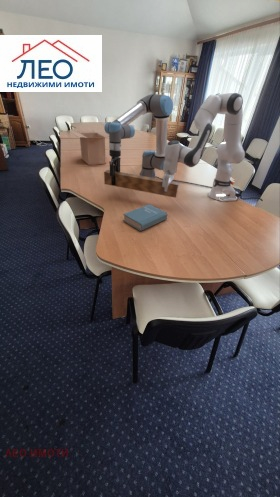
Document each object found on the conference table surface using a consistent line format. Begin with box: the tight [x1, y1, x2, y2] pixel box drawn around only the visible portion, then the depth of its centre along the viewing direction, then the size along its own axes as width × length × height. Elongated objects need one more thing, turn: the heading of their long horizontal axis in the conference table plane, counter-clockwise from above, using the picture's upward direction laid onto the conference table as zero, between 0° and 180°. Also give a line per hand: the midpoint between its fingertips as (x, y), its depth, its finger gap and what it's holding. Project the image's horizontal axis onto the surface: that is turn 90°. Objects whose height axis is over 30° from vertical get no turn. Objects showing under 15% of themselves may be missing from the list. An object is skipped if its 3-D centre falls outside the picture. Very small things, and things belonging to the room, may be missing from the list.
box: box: [70, 129, 109, 166], centre depth 229 cm, size 44×36×27 cm
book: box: [122, 203, 168, 232], centre depth 138 cm, size 23×16×5 cm
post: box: [103, 169, 180, 198], centre depth 153 cm, size 52×5×9 cm, turn 72°
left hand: (115, 183), depth 159 cm, fingers closed on post, 5 cm apart
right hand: (167, 189), depth 149 cm, fingers closed on post, 5 cm apart
